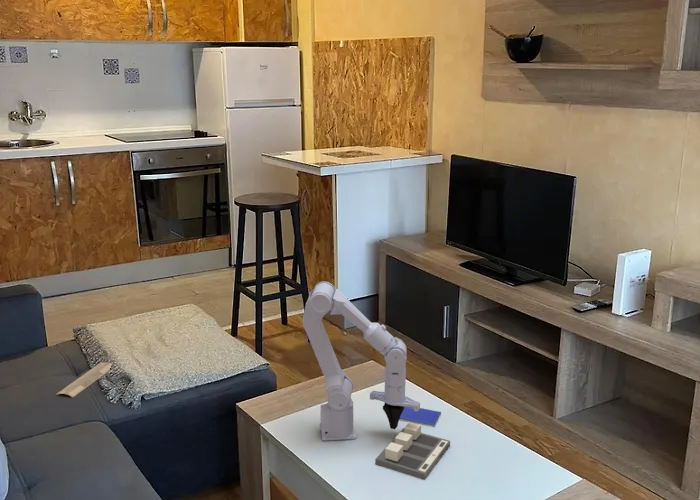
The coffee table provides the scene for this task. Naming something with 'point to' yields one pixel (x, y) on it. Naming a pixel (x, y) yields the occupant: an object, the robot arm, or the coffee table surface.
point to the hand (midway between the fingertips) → (393, 427)
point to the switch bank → (417, 456)
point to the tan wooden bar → (86, 379)
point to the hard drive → (420, 416)
